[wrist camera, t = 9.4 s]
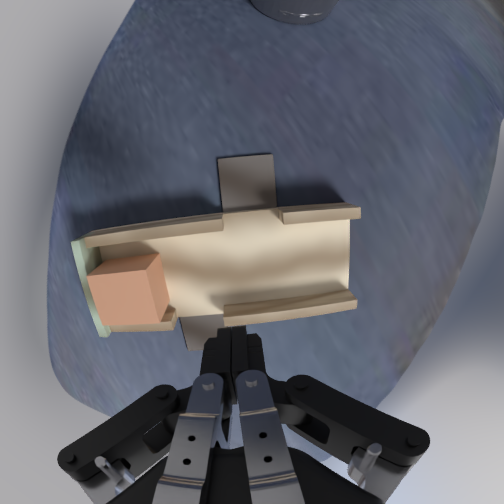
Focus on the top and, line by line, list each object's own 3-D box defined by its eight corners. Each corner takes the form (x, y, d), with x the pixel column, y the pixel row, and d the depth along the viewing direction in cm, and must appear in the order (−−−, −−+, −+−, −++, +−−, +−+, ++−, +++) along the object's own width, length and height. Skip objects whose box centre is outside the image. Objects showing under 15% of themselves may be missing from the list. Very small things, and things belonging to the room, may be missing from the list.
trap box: (85, 183, 23) (61, 187, 19) (342, 152, 24) (363, 150, 20) (127, 350, 29) (115, 373, 25) (341, 330, 30) (355, 353, 26)
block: (106, 259, 25) (86, 276, 20) (159, 253, 25) (145, 269, 21) (118, 304, 26) (102, 325, 22) (170, 300, 26) (159, 323, 22)
